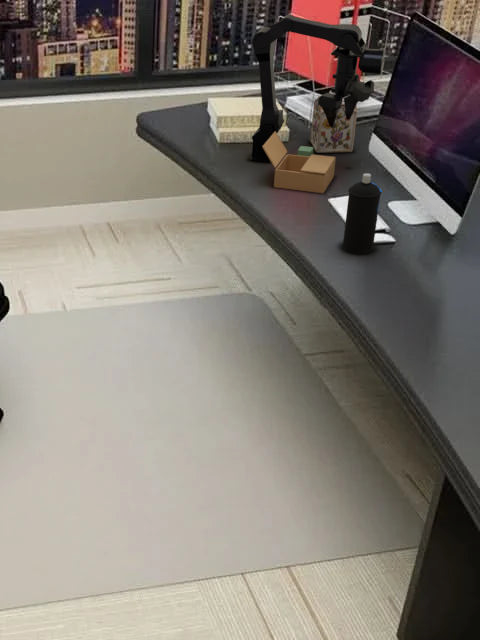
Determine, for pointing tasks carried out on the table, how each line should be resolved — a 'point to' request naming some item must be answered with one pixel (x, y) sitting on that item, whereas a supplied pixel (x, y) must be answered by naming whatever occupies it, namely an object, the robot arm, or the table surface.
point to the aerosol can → (361, 216)
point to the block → (305, 151)
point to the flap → (274, 149)
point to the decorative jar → (332, 130)
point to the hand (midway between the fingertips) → (339, 123)
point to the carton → (305, 173)
